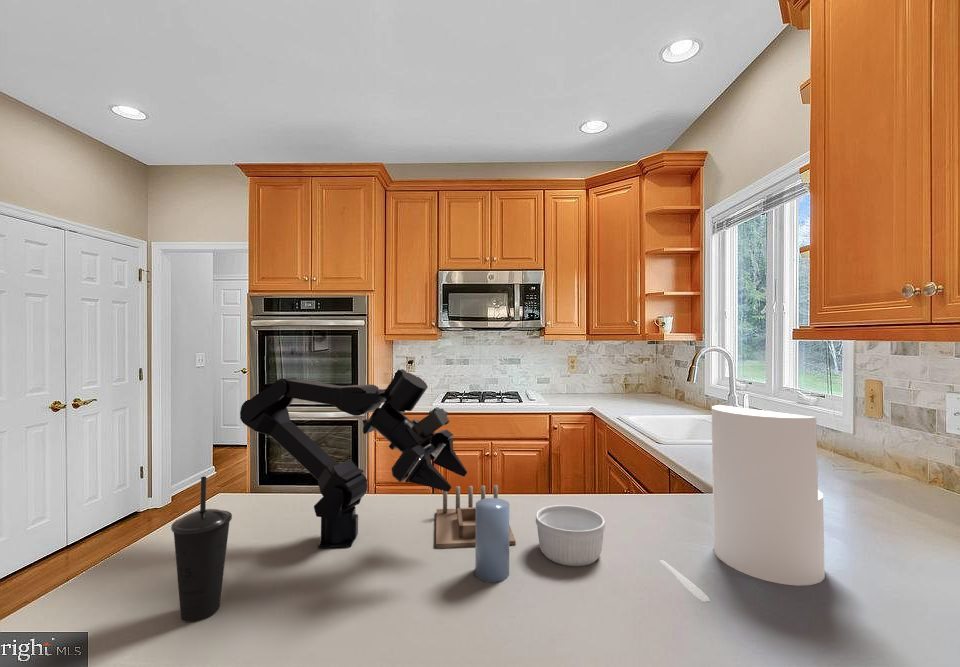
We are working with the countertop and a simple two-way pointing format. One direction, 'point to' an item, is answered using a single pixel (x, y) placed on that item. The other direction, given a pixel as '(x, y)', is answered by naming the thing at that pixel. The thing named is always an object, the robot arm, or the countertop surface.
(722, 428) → the cylinder
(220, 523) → the drinking cup
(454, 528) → the drying rack
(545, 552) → the ramekin
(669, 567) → the butter knife
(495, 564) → the pale blue pillar candle
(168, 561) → the countertop surface
